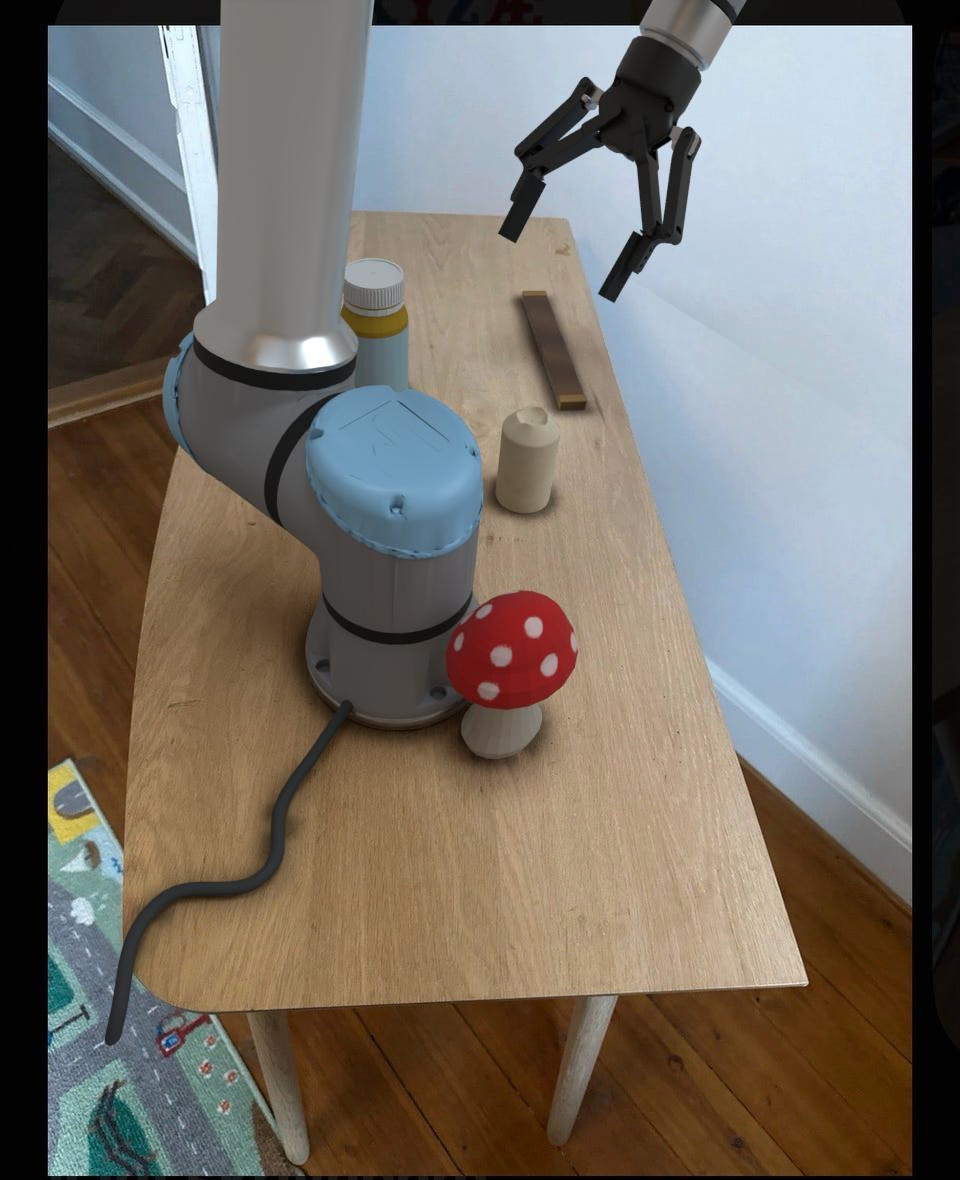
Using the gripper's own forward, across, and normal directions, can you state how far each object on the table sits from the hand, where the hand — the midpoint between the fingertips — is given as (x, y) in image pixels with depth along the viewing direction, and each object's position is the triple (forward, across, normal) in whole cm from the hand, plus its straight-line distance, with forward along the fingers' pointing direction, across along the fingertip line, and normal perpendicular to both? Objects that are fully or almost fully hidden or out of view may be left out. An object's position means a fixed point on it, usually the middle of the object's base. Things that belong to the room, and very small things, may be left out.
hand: (554, 268), depth 89 cm
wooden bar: (+9, +4, -15) cm, 18 cm away
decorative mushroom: (+31, -29, +22) cm, 49 cm away
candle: (+20, -12, +4) cm, 24 cm away
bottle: (+22, +10, +3) cm, 24 cm away
